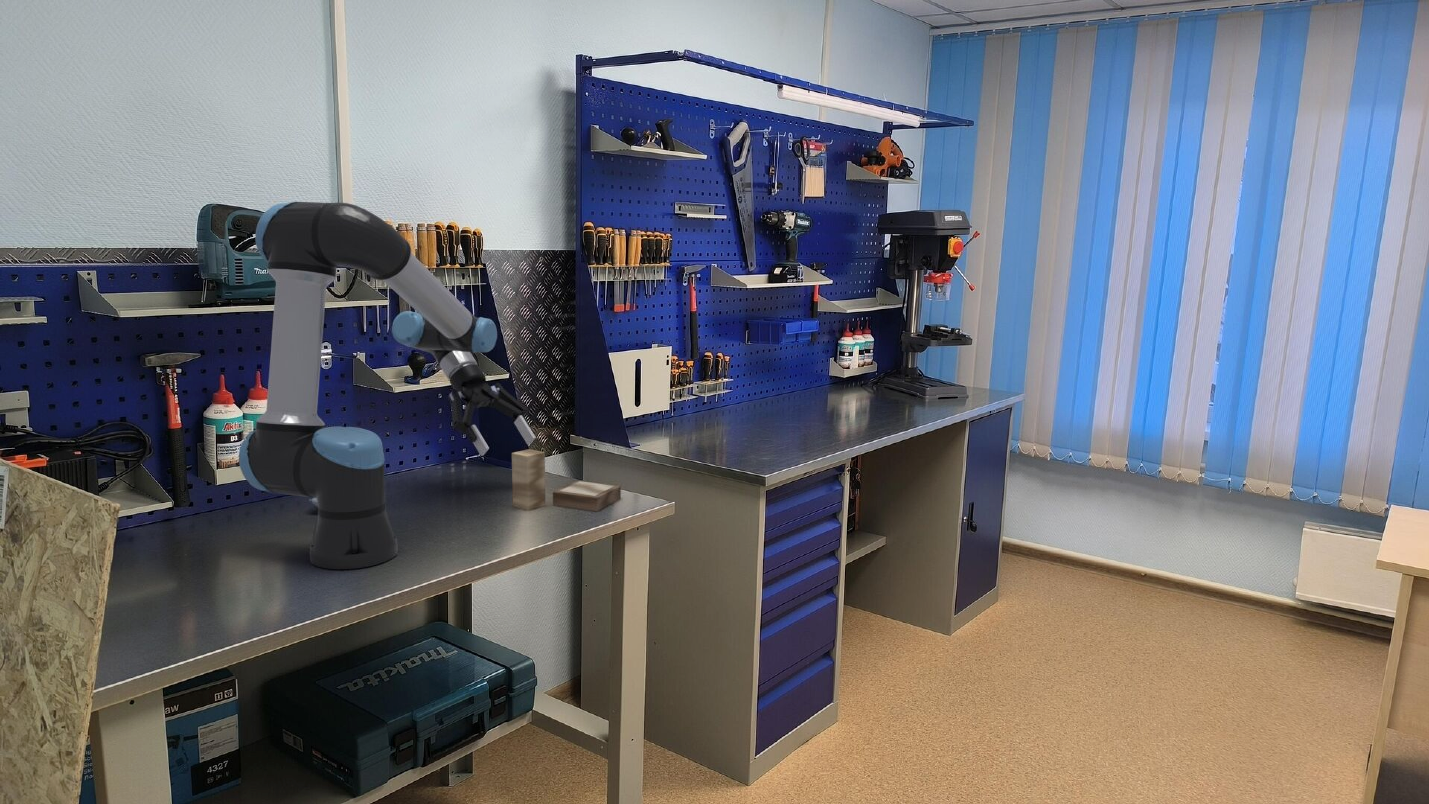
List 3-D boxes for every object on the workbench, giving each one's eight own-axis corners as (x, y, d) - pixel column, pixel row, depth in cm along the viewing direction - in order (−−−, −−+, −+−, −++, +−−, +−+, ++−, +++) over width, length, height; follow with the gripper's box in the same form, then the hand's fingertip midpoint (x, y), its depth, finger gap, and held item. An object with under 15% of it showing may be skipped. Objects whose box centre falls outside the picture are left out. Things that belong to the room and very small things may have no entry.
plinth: (596, 511, 203) (596, 497, 202) (552, 505, 207) (552, 491, 206) (620, 498, 213) (620, 485, 212) (578, 493, 217) (578, 479, 216)
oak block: (528, 510, 203) (527, 456, 201) (512, 506, 206) (511, 453, 204) (545, 505, 207) (544, 452, 205) (530, 501, 210) (529, 449, 208)
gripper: (498, 376, 227) (542, 446, 221) (410, 389, 208) (456, 466, 202) (512, 357, 223) (557, 427, 217) (424, 368, 203) (472, 446, 198)
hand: (509, 446), depth 209 cm, fingers open, 13 cm apart
